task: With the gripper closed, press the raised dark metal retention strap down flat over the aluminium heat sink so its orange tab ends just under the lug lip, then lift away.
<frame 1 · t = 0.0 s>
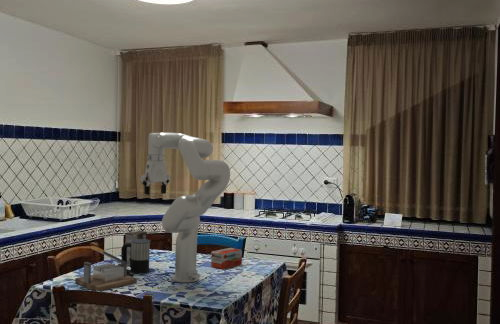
hand: (155, 193, 238), 37 cm above the table, tool pointing down, fingers open, 9 cm apart
milk frother: (134, 273, 231), on the table
base board: (106, 283, 214), on the table
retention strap: (109, 255, 214), point 12 cm above the table, hinge at 30.0°
medicine box: (226, 266, 251), on the table
heat sink: (105, 269, 213), on the base board, point 6 cm above the table
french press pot: (135, 264, 250), on the table
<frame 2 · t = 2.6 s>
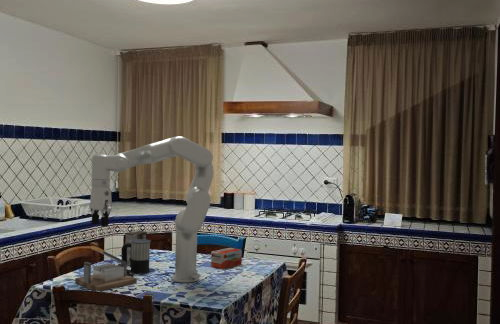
hand: (99, 224, 210), 26 cm above the table, tool pointing down, fingers open, 6 cm apart
nothing on the table moved.
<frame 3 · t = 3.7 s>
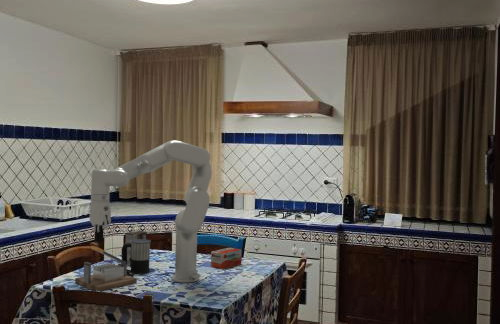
hand: (98, 240, 211), 19 cm above the table, tool pointing down, fingers closed
nothing on the table moved.
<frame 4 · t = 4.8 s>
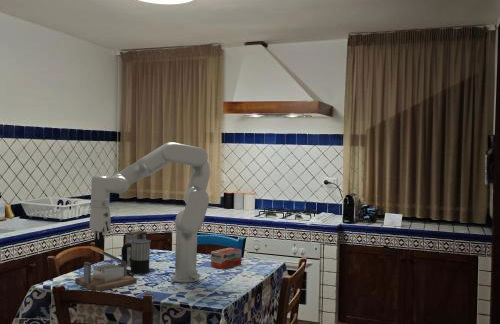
hand: (98, 247, 211), 16 cm above the table, tool pointing down, fingers closed
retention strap: (109, 255, 214), point 12 cm above the table, hinge at 29.2°, touching gripper
everything else where it was.
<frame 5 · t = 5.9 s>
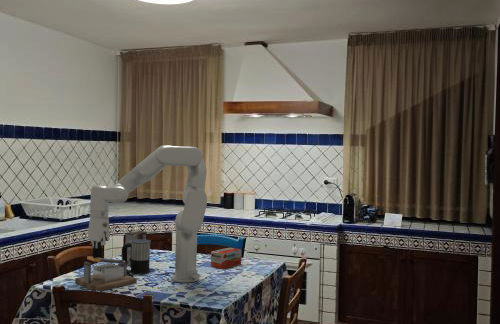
hand: (96, 256, 210), 12 cm above the table, tool pointing down, fingers closed
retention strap: (107, 260, 214), point 10 cm above the table, hinge at 13.2°, touching gripper
everything else where it was.
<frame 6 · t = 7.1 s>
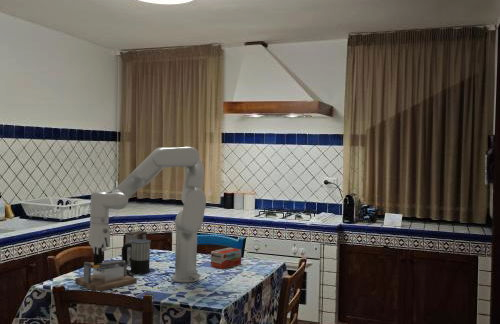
hand: (98, 263, 211), 9 cm above the table, tool pointing down, fingers closed
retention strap: (107, 263, 214), point 8 cm above the table, hinge at 2.6°, touching gripper
everything else where it was.
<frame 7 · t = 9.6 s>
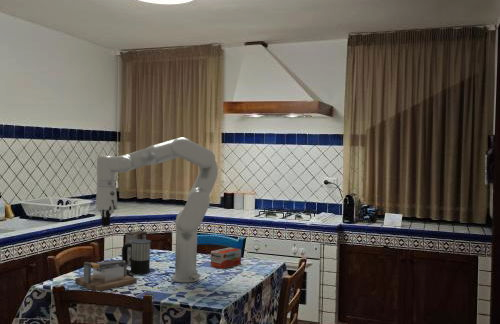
hand: (105, 225, 216), 25 cm above the table, tool pointing down, fingers closed
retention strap: (107, 263, 214), point 8 cm above the table, hinge at 2.5°
everything else where it was.
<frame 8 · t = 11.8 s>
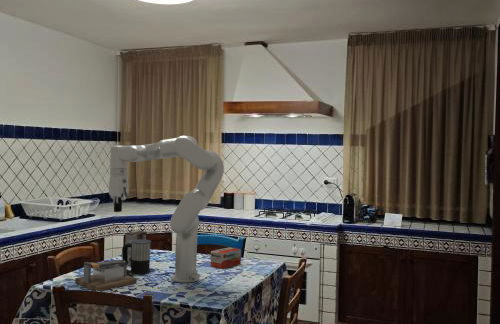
hand: (117, 211, 228), 29 cm above the table, tool pointing down, fingers closed
at the end: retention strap at +2° (first picture: +30°); milk frother moved 1.0 cm from its start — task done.
